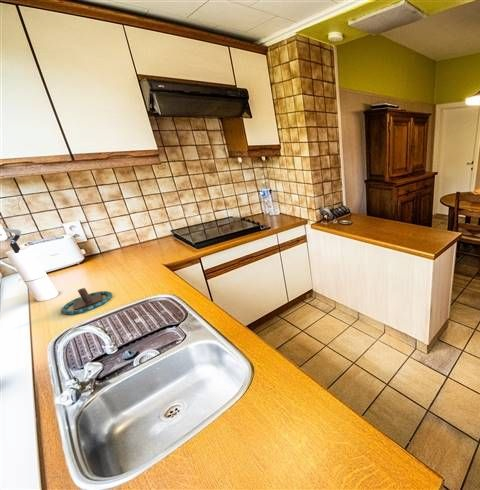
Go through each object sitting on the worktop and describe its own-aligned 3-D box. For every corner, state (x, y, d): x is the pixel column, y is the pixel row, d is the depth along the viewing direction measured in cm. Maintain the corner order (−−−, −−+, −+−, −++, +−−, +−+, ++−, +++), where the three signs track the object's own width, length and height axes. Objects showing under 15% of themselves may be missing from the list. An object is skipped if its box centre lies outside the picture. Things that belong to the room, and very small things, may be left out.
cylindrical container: (57, 291, 132) (30, 245, 123) (58, 295, 128) (30, 249, 118) (36, 298, 127) (5, 251, 118) (36, 303, 123) (4, 254, 113)
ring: (61, 320, 110) (59, 317, 109) (62, 305, 121) (61, 302, 120) (114, 302, 121) (112, 299, 120) (110, 289, 131) (109, 286, 131)
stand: (75, 312, 115) (66, 297, 112) (75, 304, 121) (67, 290, 118) (103, 302, 121) (95, 288, 118) (101, 295, 127) (94, 282, 124)
